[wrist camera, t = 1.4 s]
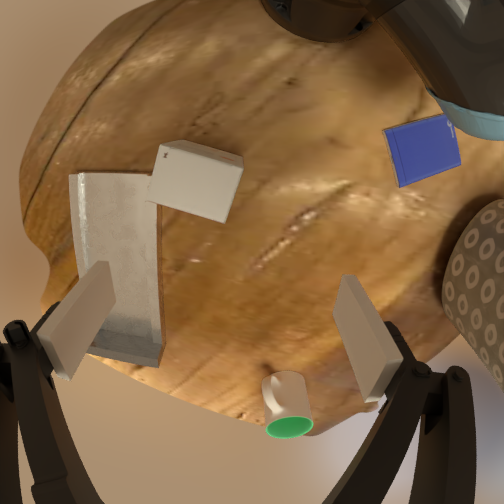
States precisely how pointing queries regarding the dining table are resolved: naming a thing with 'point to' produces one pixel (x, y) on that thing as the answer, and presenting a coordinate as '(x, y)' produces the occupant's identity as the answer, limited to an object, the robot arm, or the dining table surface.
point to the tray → (122, 260)
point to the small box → (195, 179)
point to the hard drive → (422, 149)
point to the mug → (286, 405)
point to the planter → (479, 287)
